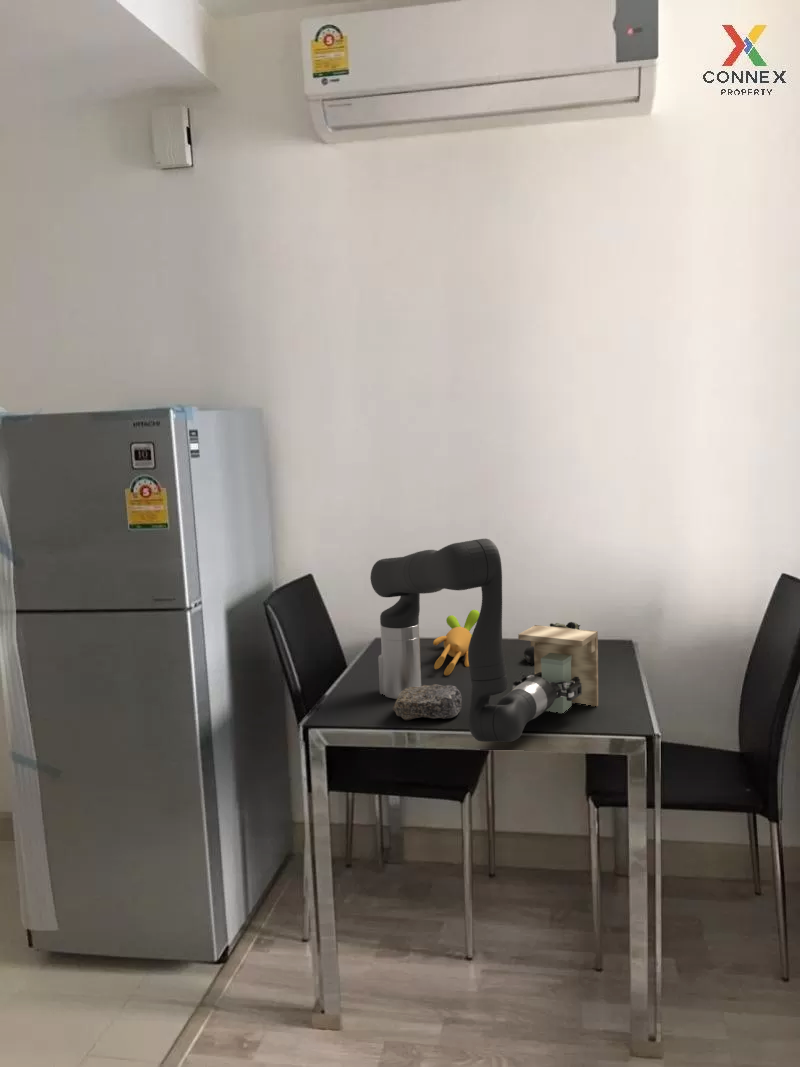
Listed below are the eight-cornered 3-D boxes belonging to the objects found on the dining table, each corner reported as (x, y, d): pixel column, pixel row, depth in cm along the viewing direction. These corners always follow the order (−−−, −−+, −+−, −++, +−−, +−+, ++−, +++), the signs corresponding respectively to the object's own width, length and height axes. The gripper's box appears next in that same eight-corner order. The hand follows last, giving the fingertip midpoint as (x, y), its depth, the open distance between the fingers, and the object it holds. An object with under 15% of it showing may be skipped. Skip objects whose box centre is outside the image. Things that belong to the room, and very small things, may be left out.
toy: (448, 704, 235) (472, 658, 262) (477, 664, 229) (498, 621, 257) (408, 676, 236) (436, 633, 263) (435, 636, 230) (461, 596, 258)
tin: (541, 710, 203) (540, 658, 201) (550, 703, 207) (549, 652, 206) (563, 713, 200) (562, 661, 198) (572, 706, 204) (571, 655, 203)
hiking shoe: (514, 662, 243) (514, 628, 242) (566, 646, 257) (565, 614, 256) (538, 668, 237) (538, 633, 236) (590, 651, 250) (589, 618, 249)
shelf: (519, 708, 205) (518, 634, 202) (536, 696, 213) (535, 625, 210) (583, 718, 197) (582, 640, 194) (598, 705, 205) (597, 631, 202)
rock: (465, 707, 208) (402, 706, 211) (464, 680, 207) (400, 679, 211) (456, 724, 196) (389, 723, 199) (454, 695, 195) (387, 695, 198)
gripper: (561, 686, 186) (589, 666, 200) (498, 677, 194) (529, 658, 207) (562, 721, 187) (589, 698, 201) (499, 711, 195) (530, 690, 208)
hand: (559, 678), depth 204 cm, fingers open, 8 cm apart
